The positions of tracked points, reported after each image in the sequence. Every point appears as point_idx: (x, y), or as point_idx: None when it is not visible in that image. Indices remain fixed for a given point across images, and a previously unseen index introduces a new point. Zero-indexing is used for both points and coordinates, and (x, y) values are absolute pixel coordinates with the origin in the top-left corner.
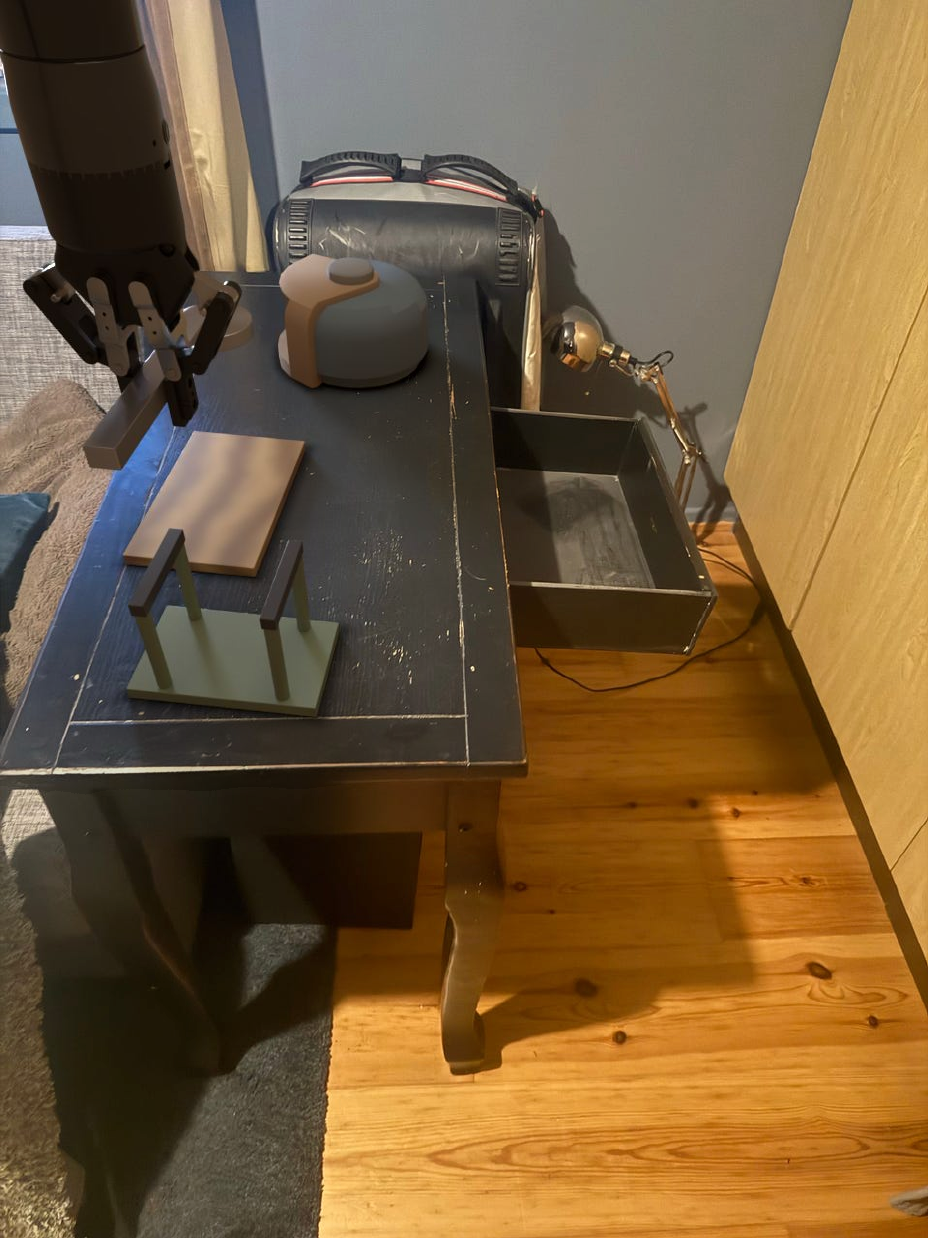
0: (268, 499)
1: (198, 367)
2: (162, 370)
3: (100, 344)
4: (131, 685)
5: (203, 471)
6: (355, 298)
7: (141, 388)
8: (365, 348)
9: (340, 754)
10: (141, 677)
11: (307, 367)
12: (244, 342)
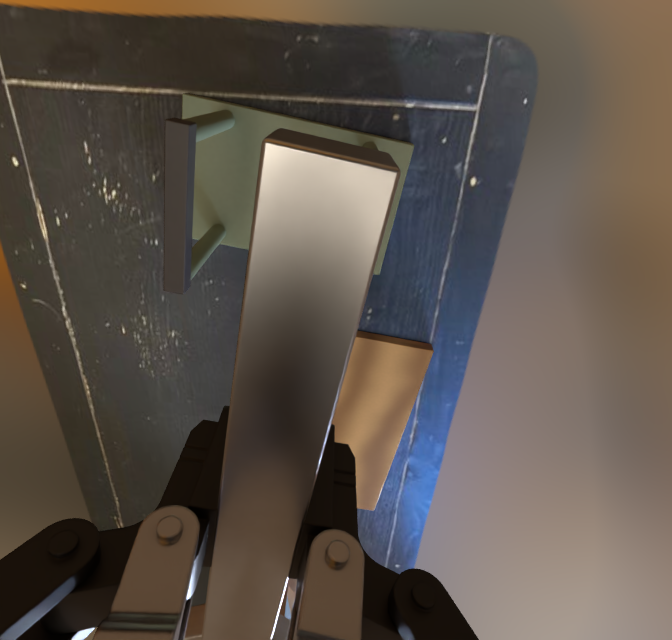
0: None
1: (53, 542)
2: (197, 539)
3: (386, 638)
4: (408, 150)
5: (359, 459)
6: None
7: (265, 481)
8: (197, 601)
9: (148, 25)
10: (397, 162)
11: None
12: None
